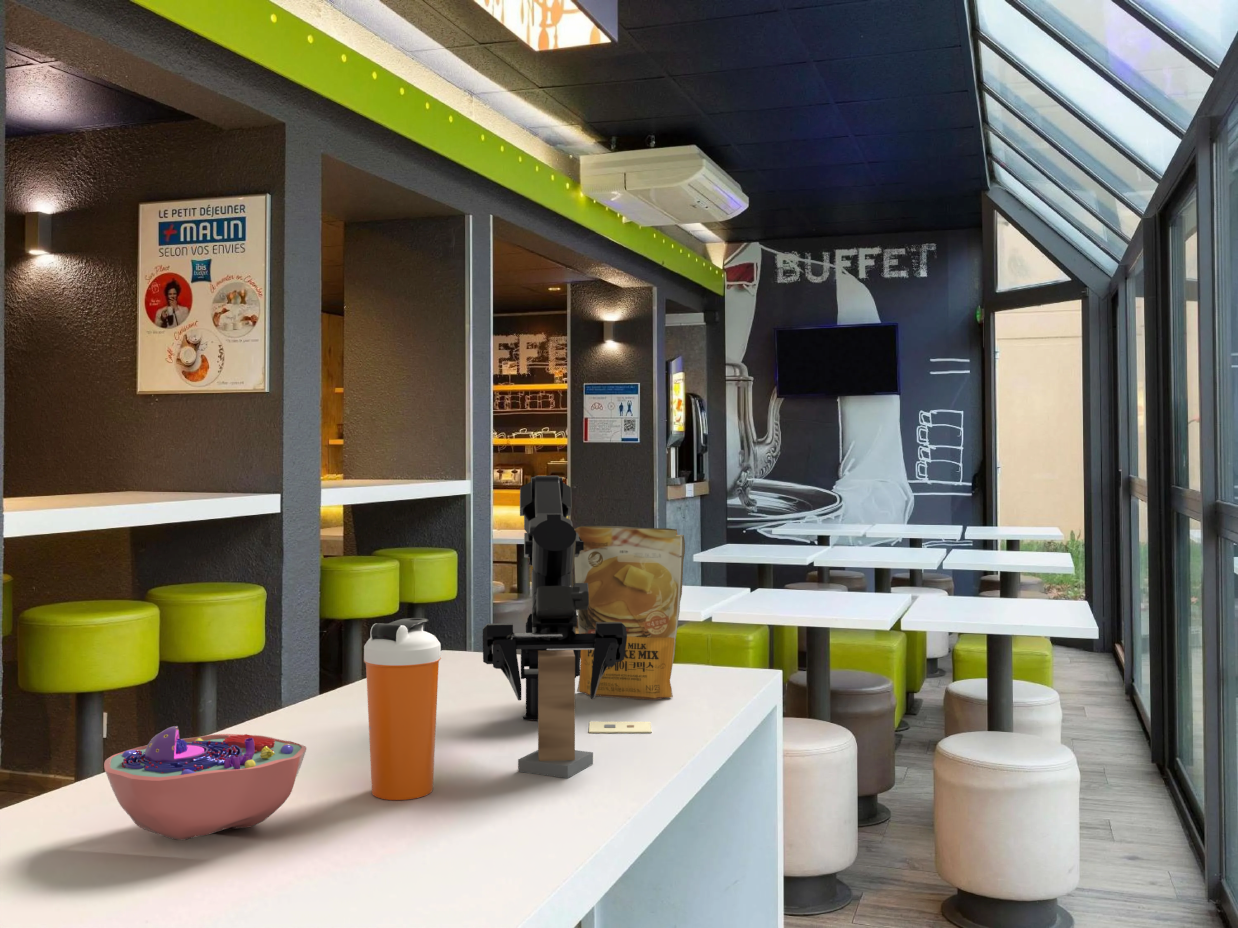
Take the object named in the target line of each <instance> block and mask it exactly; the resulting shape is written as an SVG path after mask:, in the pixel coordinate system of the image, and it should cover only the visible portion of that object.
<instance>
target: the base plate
mask: <svg viewBox="0 0 1238 928" xmlns="http://www.w3.org/2000/svg"><path fill="white" fill-rule="evenodd" d="M592 765H594V752H592V751H587V750H578V749H575V760H561V761H539V757H538V749H536V750H535V751H533V752H530V753H528V754H526V755H525V756H522V757H520V758H518V759H517V768H518V769H517V772H520V773H528V774H535V775H541V776H550V777H555V778H557V777H558V778H564V779H569V778H571V777H573V776H574V775H576V774H578V773H580V772H581V771H583V770H585V769H587V768H588V767H590V766H592Z"/></svg>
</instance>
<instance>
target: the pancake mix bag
mask: <svg viewBox="0 0 1238 928" xmlns="http://www.w3.org/2000/svg"><path fill="white" fill-rule="evenodd" d="M574 530H575V531H576V533H578V536H579V537H580V539H581V540H582V541H584V550H581V551H580V554H579V556H578V557H575V561H574V583H588V590H589V606H588V609H587V610H577V627H578V634H582V633H595V627H596V622H622V623H623V624H624V625H625V626H626V631H627V641H626V649H625V656H624V660H622V661H621V662H615V665H614V666H612V667H607V668H606V670H605V672H604V674H603V676H602V677H601V680H600V682H599V685H598V688H597V691H596V694H595V697H605V698H614V699H615V698H617V699H632V700H633V699H634V700H635V699H636V700H650V701H651V700H655V701H656V700H657V701H658V700H661V699H662V700H663V699H671V698H672V699H673V698H674V696H673V690H672V689H673V688H672V684H671V677H672V671H673V666H674V665H673V664H674V659H675V652H676V651H675V650H676V642H677V641H676V638H677V632H678V626H679V617H680V610H681V609H680V608H681V600H682V595H683V579H684V578H683V577H684V576H683V575H684V560H685V554H686V542H685V535H684V534H678V529H677V528H669V527H668V528H667V527H664V528H663V527H661V528H659V527H656V528H655V527H654V528H653V527H633V526H622V525H621V526H620V525H619V526H617V525H615V526H614V525H585V526H584V525H581V526H578V527H576V528H574ZM593 657H594V650H581V656H580V676H578V677H579V679H578V683H577V684H578V685H577V689H576V692H577V693H581V694H585V695H587V696H591V695H590V687H591V677H592V667H593Z"/></svg>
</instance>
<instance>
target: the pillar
mask: <svg viewBox="0 0 1238 928" xmlns="http://www.w3.org/2000/svg"><path fill="white" fill-rule="evenodd" d="M537 729H538V730H537V750H538V757H539V761H561V760H575V750H576V732H575V731H576V678H575V655H574V651H573V650H547V651H538V720H537Z"/></svg>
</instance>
